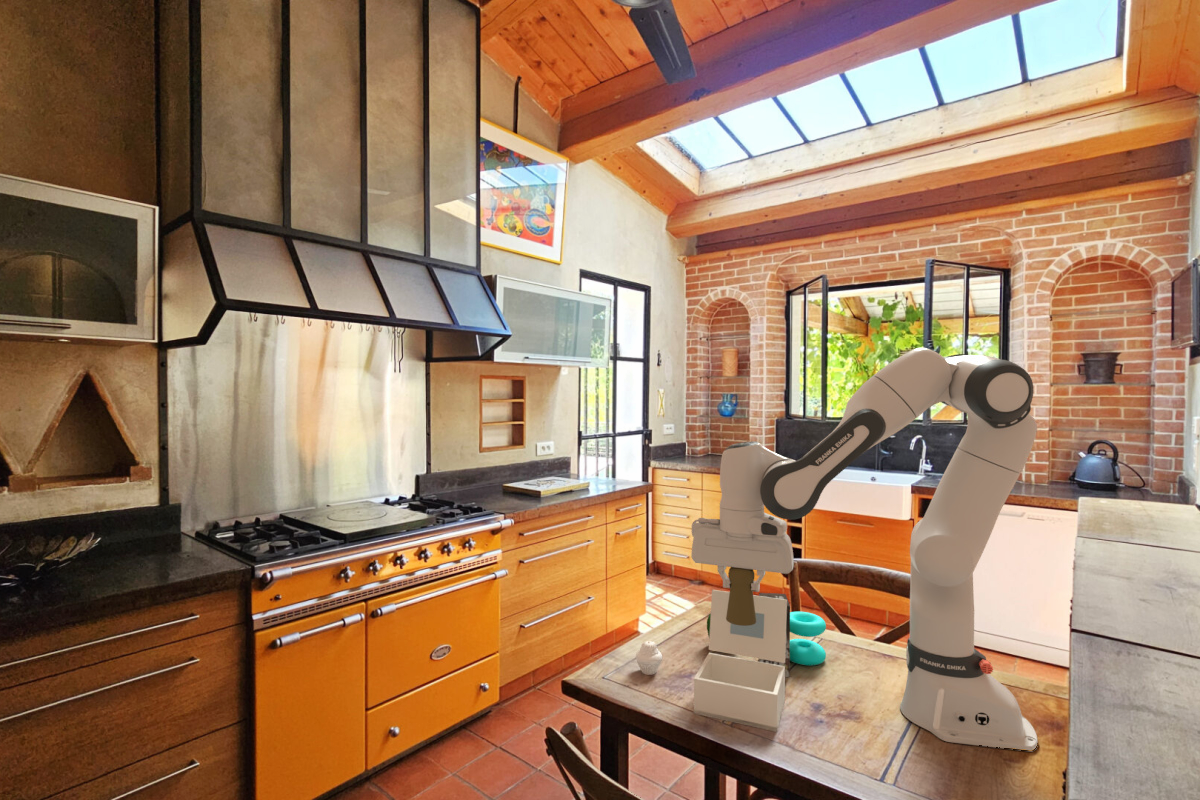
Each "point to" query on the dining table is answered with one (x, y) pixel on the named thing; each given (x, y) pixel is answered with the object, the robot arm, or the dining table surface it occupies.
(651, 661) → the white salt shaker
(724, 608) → the mailer lid
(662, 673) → the dining table surface
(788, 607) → the coffee box
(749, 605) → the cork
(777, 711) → the base
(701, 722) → the dining table surface
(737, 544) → the robot arm
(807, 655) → the donuts
